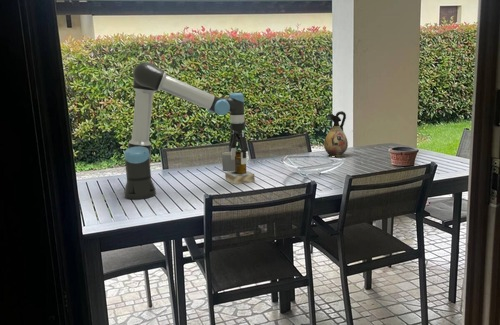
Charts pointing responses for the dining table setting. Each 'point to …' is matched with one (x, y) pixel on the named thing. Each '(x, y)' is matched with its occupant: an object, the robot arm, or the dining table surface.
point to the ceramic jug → (336, 137)
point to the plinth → (239, 177)
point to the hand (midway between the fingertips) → (238, 161)
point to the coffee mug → (228, 162)
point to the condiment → (239, 165)
